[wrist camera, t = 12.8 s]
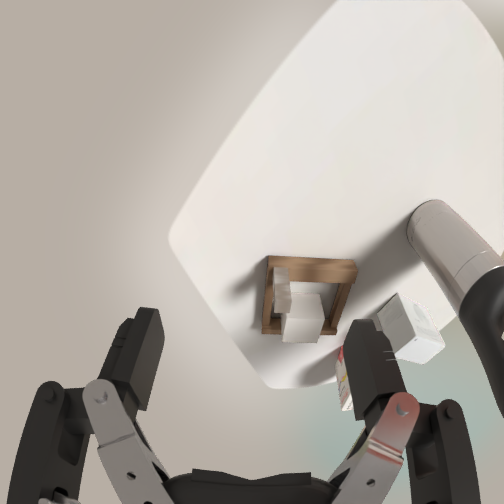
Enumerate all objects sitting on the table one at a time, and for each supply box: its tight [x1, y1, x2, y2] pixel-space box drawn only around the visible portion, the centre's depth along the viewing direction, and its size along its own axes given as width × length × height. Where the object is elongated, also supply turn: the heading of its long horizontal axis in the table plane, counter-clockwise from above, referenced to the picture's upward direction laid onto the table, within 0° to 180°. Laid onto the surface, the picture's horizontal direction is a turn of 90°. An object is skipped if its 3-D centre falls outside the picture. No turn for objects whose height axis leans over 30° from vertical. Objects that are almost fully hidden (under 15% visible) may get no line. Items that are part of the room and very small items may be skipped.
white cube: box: [281, 293, 325, 343], centre depth 47 cm, size 6×6×6 cm
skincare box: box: [377, 293, 445, 365], centre depth 46 cm, size 10×6×10 cm, turn 64°
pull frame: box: [262, 256, 358, 335], centre depth 43 cm, size 13×15×10 cm
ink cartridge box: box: [335, 346, 354, 411], centre depth 52 cm, size 9×5×15 cm, turn 3°
